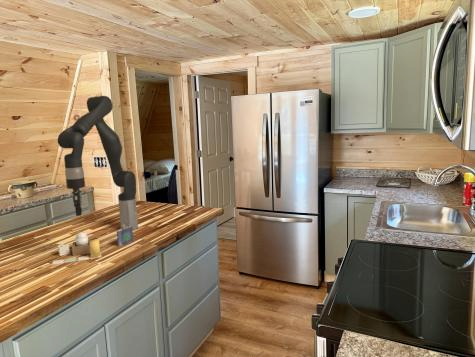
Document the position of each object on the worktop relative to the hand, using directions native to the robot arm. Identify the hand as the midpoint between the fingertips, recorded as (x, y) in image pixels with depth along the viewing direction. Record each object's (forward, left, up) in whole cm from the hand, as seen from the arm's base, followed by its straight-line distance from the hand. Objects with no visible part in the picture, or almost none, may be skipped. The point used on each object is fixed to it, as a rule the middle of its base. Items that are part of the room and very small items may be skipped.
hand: (79, 214), depth 157 cm
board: (+2, +4, -19) cm, 20 cm away
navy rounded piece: (-19, -3, -19) cm, 27 cm away
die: (+8, -1, -18) cm, 20 cm away
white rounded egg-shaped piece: (0, 0, -15) cm, 15 cm away
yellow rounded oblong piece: (-6, +9, -18) cm, 21 cm away
